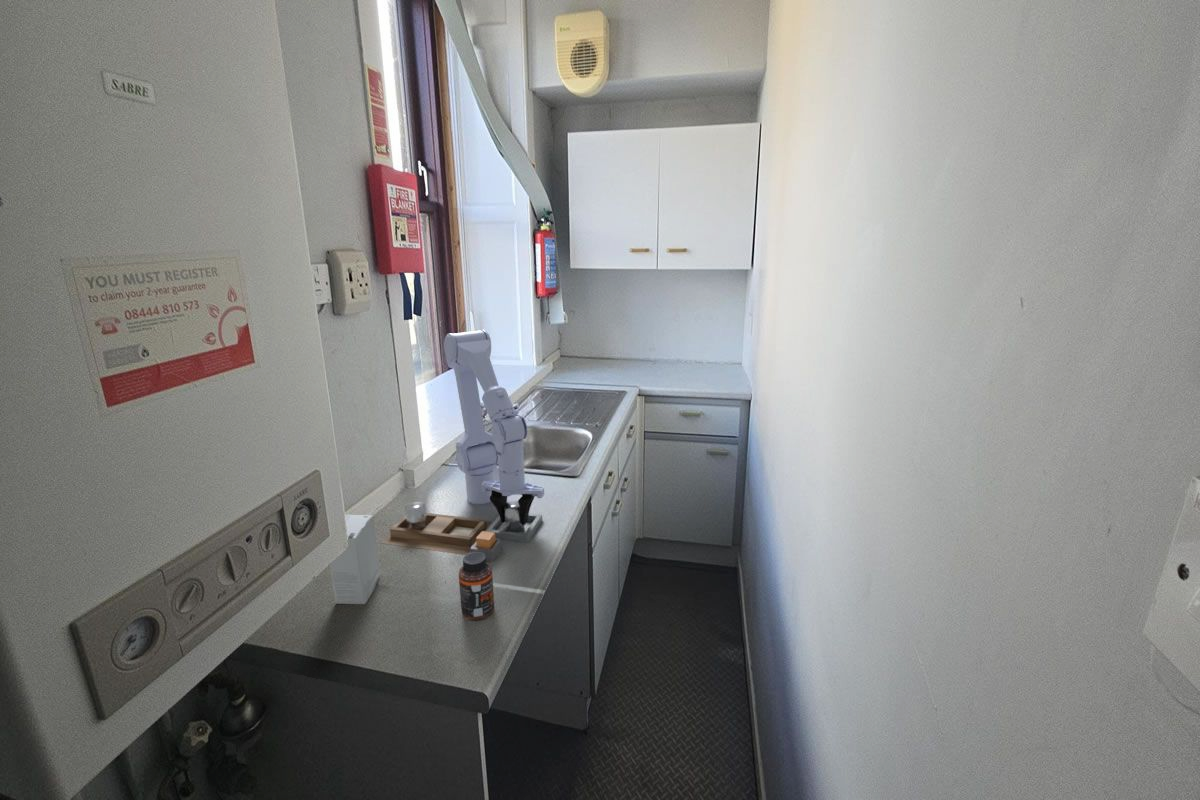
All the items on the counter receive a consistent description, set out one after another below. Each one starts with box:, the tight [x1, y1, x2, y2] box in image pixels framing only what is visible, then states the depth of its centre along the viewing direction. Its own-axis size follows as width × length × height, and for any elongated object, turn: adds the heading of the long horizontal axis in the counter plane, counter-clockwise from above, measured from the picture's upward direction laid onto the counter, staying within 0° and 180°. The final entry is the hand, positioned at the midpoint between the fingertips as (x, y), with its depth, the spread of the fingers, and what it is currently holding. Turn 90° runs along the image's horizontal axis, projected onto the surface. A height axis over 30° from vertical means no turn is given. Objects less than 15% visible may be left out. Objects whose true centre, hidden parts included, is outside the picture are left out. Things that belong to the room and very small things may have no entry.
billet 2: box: [504, 500, 524, 533], centre depth 127 cm, size 4×4×6 cm
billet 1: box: [404, 501, 427, 530], centre depth 126 cm, size 4×4×6 cm
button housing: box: [470, 537, 503, 563], centre depth 118 cm, size 5×5×3 cm
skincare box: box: [328, 514, 381, 605], centre depth 104 cm, size 8×6×15 cm
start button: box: [476, 531, 496, 549], centre depth 117 cm, size 3×3×3 cm
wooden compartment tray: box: [380, 512, 494, 556], centre depth 125 cm, size 14×21×3 cm, turn 77°
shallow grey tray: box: [486, 512, 543, 544], centre depth 128 cm, size 10×10×2 cm
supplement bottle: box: [458, 552, 495, 621], centre depth 99 cm, size 6×6×11 cm
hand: (514, 521), depth 127 cm, fingers closed on billet 2, 4 cm apart
